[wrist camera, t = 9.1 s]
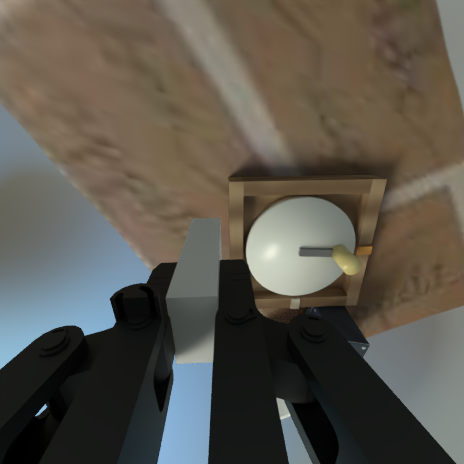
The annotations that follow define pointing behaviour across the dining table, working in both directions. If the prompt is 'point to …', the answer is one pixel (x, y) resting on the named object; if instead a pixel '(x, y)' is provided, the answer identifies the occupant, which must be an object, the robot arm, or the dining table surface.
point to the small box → (342, 325)
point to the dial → (301, 245)
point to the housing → (325, 186)
